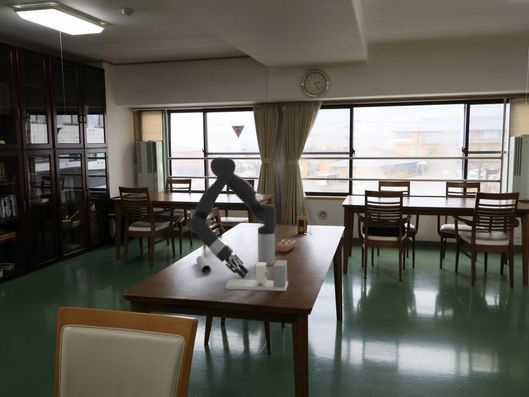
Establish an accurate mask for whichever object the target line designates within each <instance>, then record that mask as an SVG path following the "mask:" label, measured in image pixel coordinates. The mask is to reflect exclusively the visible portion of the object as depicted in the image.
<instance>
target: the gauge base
mask: <svg viewBox="0 0 529 397" xmlns="http://www.w3.org/2000/svg"><path fill="white" fill-rule="evenodd" d="M224 286H225V289H227V290H228V289H229V290H231V289H232V290H251V291H253V290H254V291H255V290H256V291H275V292H276V291H277V292H278V291H279V292H286V291H287V288H288V286H289V281H288V260H285V259H283V260H282V259H275V263H274V264H273V280H268V279H267V281H266V283H265V285H260V286H259V285H256V279H243V278H240V279H236V278H231V279H229V280H228V282H226V284H225V285H224Z"/></svg>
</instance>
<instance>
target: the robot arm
mask: <svg viewBox="0 0 529 397" xmlns="http://www.w3.org/2000/svg"><path fill="white" fill-rule="evenodd" d="M210 170H211V172H212V173H213V175H215V177H217V178H216V179H215V181H214V182H213V183H212V184H211V185H210V186H209V187H208V188H207V189H206V190H205V191H204V193H203V194H202V195H201V197H200V199H199V202H198V203H197V205H196V207H195V211H194V213H193V215H192V217H191V218H190V219H189V221H188V229H189V230H190V232H192V233H195V234H196V235H197V236H198V237H199V238H200V240H201V242H202V243H203V244H204V245H205V246H206V247H207V248H208V249H209V250H210V252H211V253H213V255H214V256H215V257H216V258H217V259H218V260H219V261H220V262H222V263H223V262H225V266H226V267H227V268H228V269H229V270H230V271H231V272H232V273H233V274H236V275H238V276H239V277H240V279H245V277H246V276H247V274H249V272H250V271H249V270H248V268H246V267H245V266H244V262H243V260H241V258H239V257H238V255H237V254H234V255H233V254H232V253H234V250H233V248H231V247H230V246H229V245H228V243H226V241H224V240H223V239H222V238H221V237H219V236H218V234H217V233H216V232H215V231H214V230H212V228H211V227H210V226H209V225H208V223H207V219H208V216H209V215H210V213H211V212H212V209H213V208H214V206H215V204H216V202H217V199H218V198H219V196H220V195H221V193H222V191H223V190H224V188H225V186H227V187H228V188H229V189H230V190H231V191H232V192H233V193H234V194H235V196H236V197H237V198H238V199H239V200H241V202H242V203H243V204H244V205H245V206H246V207H247V208H248V209H249V211H250V212H251V213H252V214H253V216H254V217H255V218H256V220H259V221H263V222H264V224H263V226H260V227H258V228H257V255H258V256H257V257H258V258H257V260H258V261H257V263H258V262H266V265H267V266H270V265H274V264H275V262H276V259H275V255H276V254H275V253H276V252H275V248H276V247H275V246H276V243H275V242H276V240H275V231H276V227H277V226H276V225H277V223H276V222H277V210H276V206H274V205H273V204H267V203H266V204H265V203H261V202H260V201H259V200H258V199H257V198H256V197H257V195H256V194H257V193H256V190H255V188H254V187H253V186H252V184H251V183H250V182H249V181H247V179H244V178H243V177H241V176H239V175H238V174H236V173H235V171H236V162H235V160H233V159H232V158H229V157H215V158H213V159H212V160H211V162H210Z"/></svg>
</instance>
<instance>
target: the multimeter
mask: <svg viewBox="0 0 529 397" xmlns="http://www.w3.org/2000/svg"><path fill="white" fill-rule="evenodd" d="M299 209H300V210H301V212H300V216H297V215H295V217H296V223H295V225H294V228H293V230H292V232H294V231H295V230H294V229H296V232H298V233H307V232H308V217H307V216H304V211H303V210H307V211H308V213H309V218H310V219H312V216H311V213H310V210H309V209H308V208H306V207H304V208H303V209H302V208H301V207H299ZM297 211H298V210H296V211H295V213H297ZM311 228H312V226H310V228H309V234H310V233H312V231H311ZM307 234H308V233H307Z"/></svg>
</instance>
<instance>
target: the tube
mask: <svg viewBox="0 0 529 397" xmlns="http://www.w3.org/2000/svg"><path fill="white" fill-rule="evenodd" d="M196 263H197V265H198V267H199V269H200V271H201V273H202V275H205V276H208V275H210V274H211V273H212V267H211V265H209V263H208V262H207V260H206V258H205V257H204V256H203V255H198V256H197V257H196Z"/></svg>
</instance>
